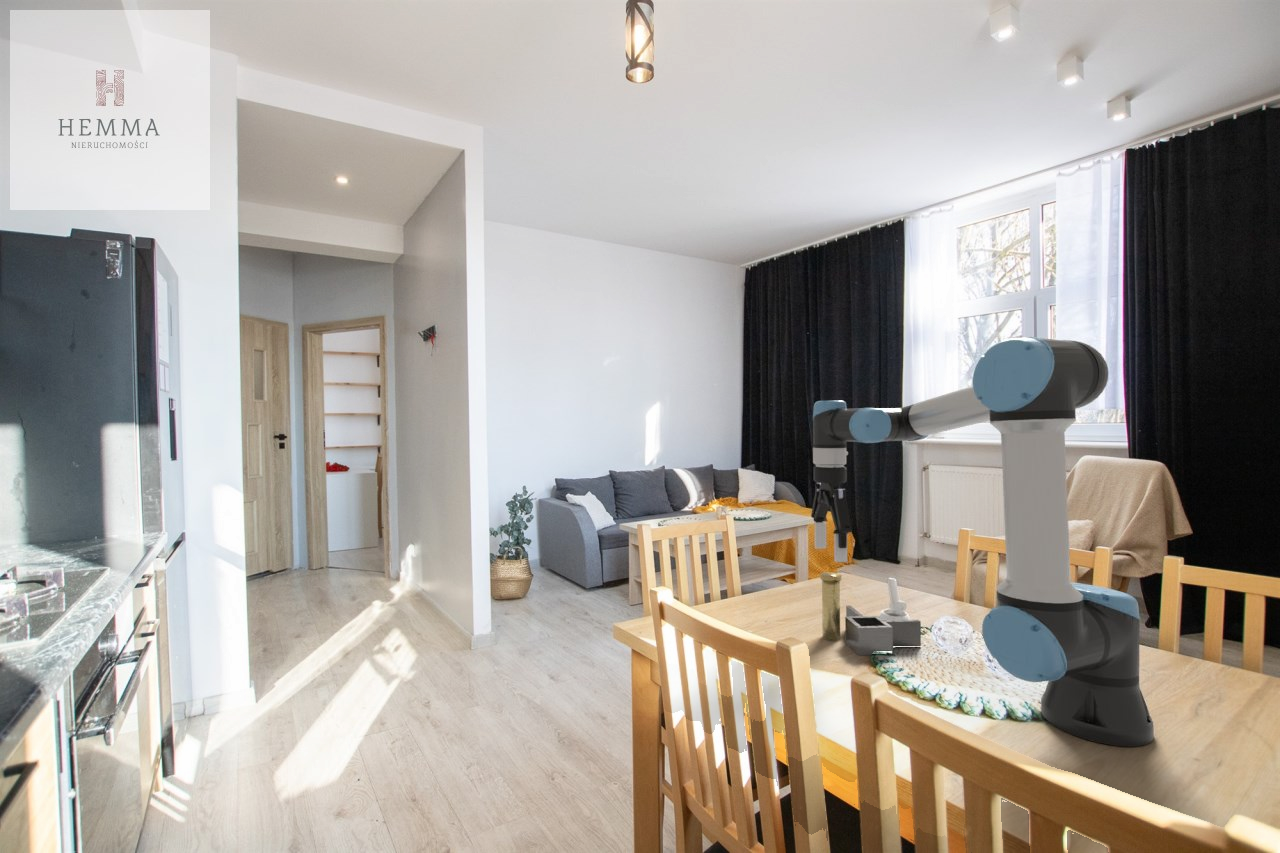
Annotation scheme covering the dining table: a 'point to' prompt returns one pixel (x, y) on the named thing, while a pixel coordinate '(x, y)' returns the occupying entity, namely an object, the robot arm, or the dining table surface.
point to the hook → (894, 604)
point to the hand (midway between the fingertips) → (830, 555)
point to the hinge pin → (831, 605)
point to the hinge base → (879, 632)
